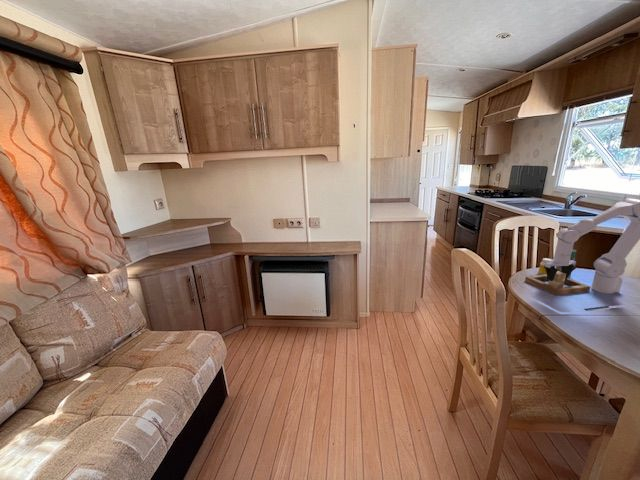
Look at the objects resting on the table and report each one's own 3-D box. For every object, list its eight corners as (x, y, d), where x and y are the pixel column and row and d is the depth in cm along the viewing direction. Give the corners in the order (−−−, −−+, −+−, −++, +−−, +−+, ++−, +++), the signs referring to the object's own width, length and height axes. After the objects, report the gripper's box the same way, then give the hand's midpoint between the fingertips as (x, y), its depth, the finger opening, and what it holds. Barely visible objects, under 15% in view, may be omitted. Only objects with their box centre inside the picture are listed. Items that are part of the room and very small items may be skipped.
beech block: (554, 283, 131) (557, 270, 129) (563, 287, 127) (566, 274, 125) (547, 284, 130) (550, 271, 128) (555, 287, 126) (559, 274, 124)
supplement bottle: (540, 272, 146) (543, 256, 143) (552, 275, 141) (555, 259, 139) (536, 275, 143) (539, 259, 140) (548, 278, 139) (552, 261, 136)
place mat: (580, 295, 121) (581, 294, 120) (609, 307, 110) (609, 306, 110) (560, 297, 119) (560, 297, 119) (586, 310, 109) (587, 309, 109)
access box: (554, 279, 137) (556, 273, 136) (588, 293, 122) (590, 286, 121) (524, 282, 135) (525, 276, 134) (555, 297, 120) (556, 290, 119)
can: (572, 277, 139) (579, 250, 135) (564, 278, 138) (570, 252, 134) (560, 272, 145) (566, 247, 141) (551, 274, 143) (557, 248, 139)
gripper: (567, 249, 128) (561, 274, 132) (541, 252, 127) (536, 277, 131) (583, 254, 122) (576, 280, 126) (556, 256, 120) (549, 283, 124)
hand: (556, 279), depth 128 cm, fingers open, 7 cm apart
